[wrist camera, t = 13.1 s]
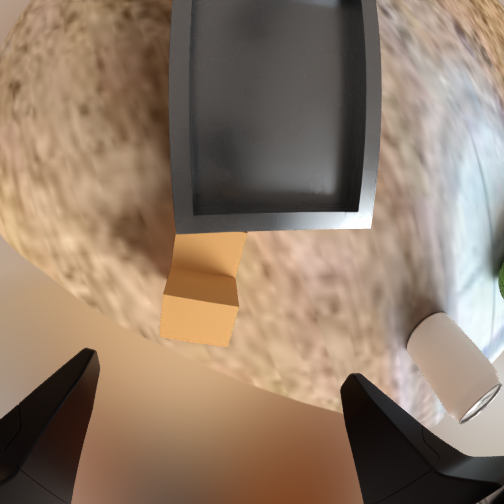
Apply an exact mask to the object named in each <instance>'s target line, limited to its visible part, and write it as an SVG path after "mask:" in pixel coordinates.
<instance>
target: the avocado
mask: <svg viewBox="0 0 504 504" xmlns="http://www.w3.org/2000/svg"><path fill="white" fill-rule="evenodd" d="M499 289H500V293H501V295H502V297H503V299H504V260H503V263H502V265H501V267H500V271H499Z"/></svg>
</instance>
